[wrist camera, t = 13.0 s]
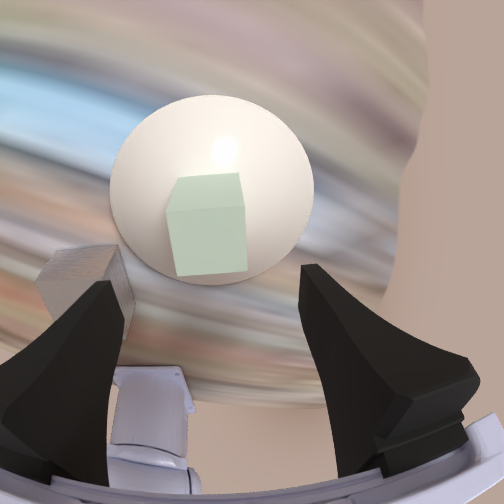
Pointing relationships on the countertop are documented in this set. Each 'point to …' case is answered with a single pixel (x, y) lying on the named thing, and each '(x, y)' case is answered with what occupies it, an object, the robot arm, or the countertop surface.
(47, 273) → the grey square block
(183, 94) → the countertop surface
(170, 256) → the cream round disc
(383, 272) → the countertop surface
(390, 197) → the countertop surface
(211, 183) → the block
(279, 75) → the countertop surface
